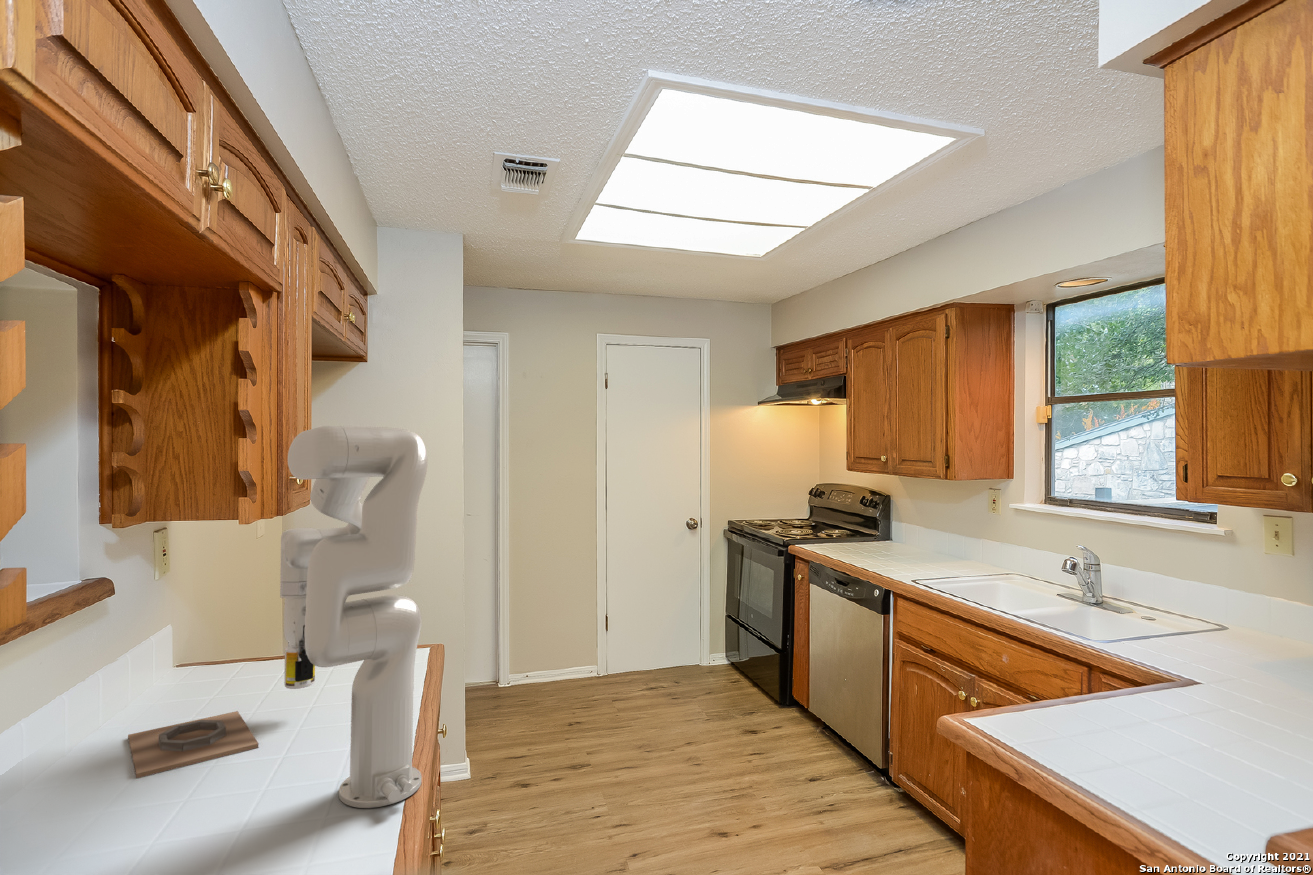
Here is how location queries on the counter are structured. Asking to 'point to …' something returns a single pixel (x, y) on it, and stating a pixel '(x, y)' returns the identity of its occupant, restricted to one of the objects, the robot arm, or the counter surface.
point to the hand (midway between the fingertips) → (299, 675)
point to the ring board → (189, 743)
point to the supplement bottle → (290, 669)
